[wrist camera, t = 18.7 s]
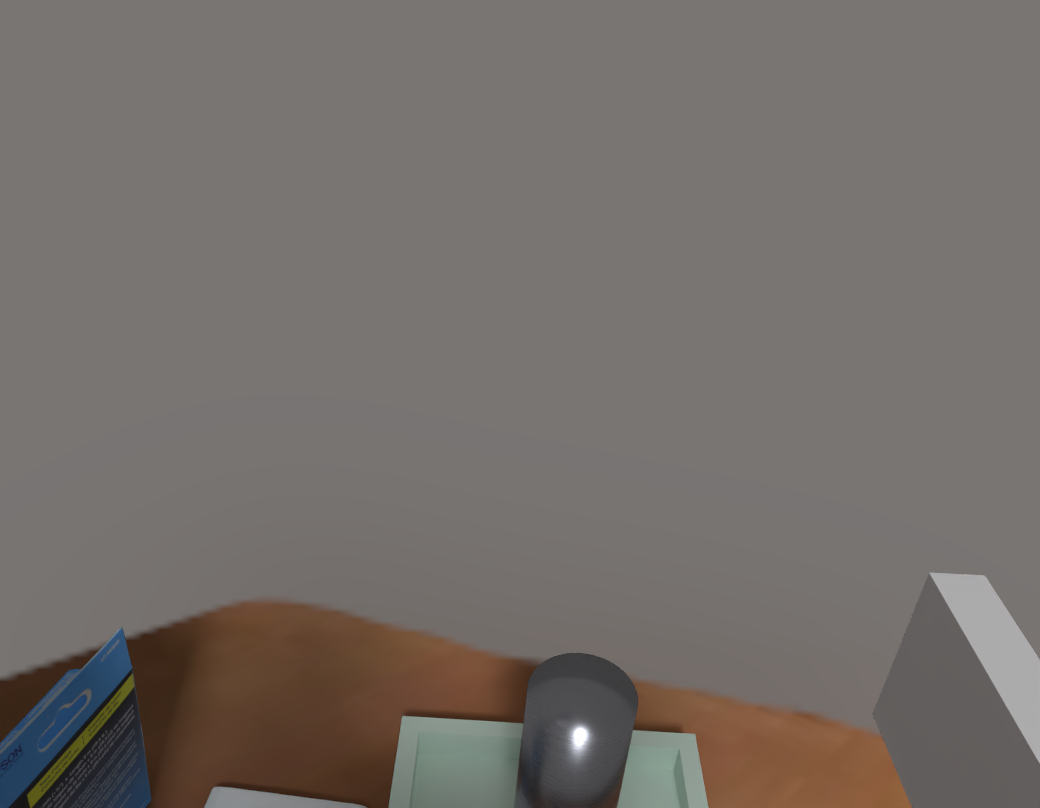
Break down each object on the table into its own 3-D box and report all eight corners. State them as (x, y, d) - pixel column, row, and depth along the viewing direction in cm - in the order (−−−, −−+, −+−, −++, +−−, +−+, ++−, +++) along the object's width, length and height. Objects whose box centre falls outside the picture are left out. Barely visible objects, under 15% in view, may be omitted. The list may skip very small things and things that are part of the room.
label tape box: (91, 779, 49) (50, 602, 43) (160, 801, 48) (128, 624, 42) (-39, 939, 42) (-112, 752, 36) (40, 968, 41) (-21, 782, 35)
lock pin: (500, 947, 42) (526, 734, 35) (504, 857, 46) (527, 649, 39) (598, 953, 43) (643, 742, 36) (593, 862, 46) (633, 656, 39)
